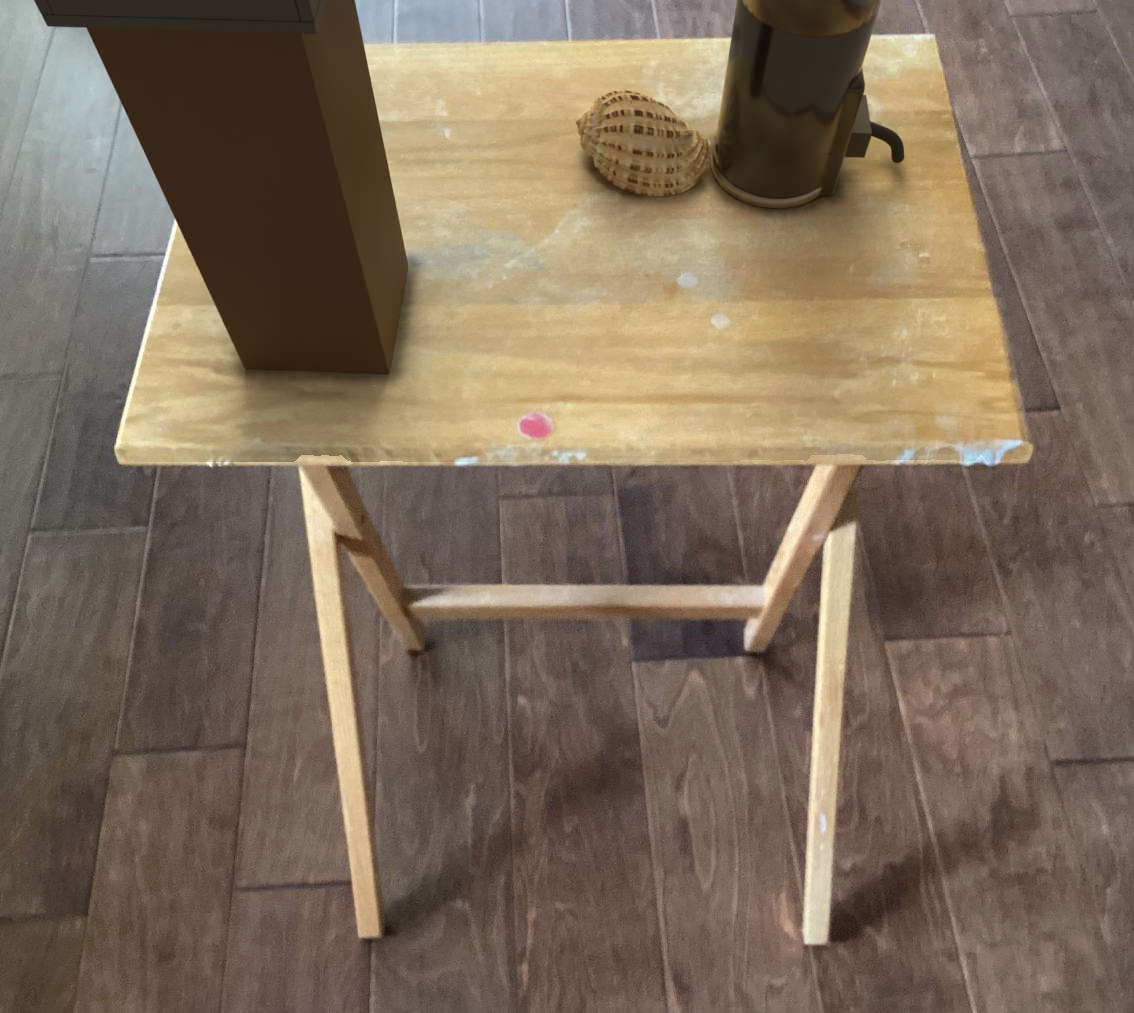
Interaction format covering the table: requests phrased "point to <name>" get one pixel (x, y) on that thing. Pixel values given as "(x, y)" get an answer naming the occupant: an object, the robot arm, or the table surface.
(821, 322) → the table surface
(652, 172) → the seashell
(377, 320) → the bin
